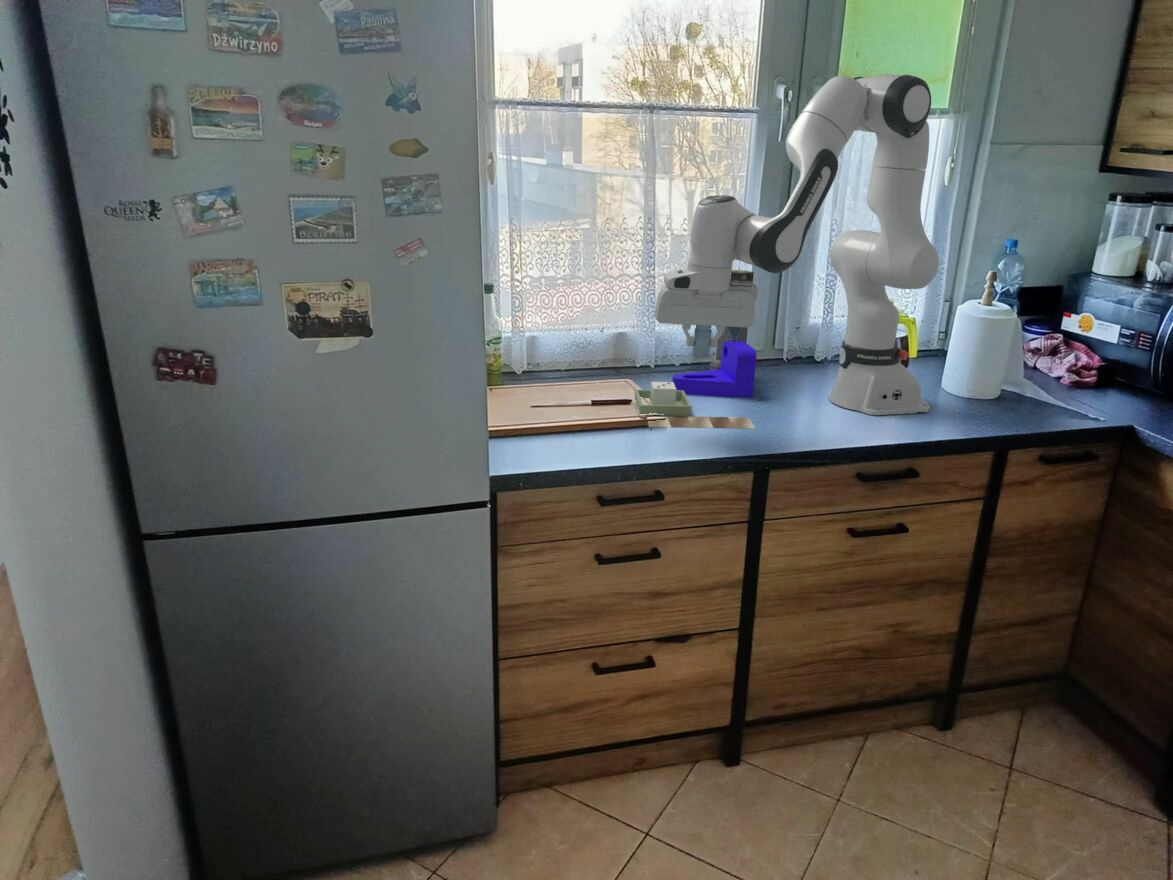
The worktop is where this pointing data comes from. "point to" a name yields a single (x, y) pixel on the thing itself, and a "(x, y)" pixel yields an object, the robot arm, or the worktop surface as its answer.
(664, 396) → the die
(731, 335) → the building
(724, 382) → the bracket
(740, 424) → the track
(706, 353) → the pawn
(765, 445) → the worktop surface
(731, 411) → the worktop surface
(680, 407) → the dice tray
